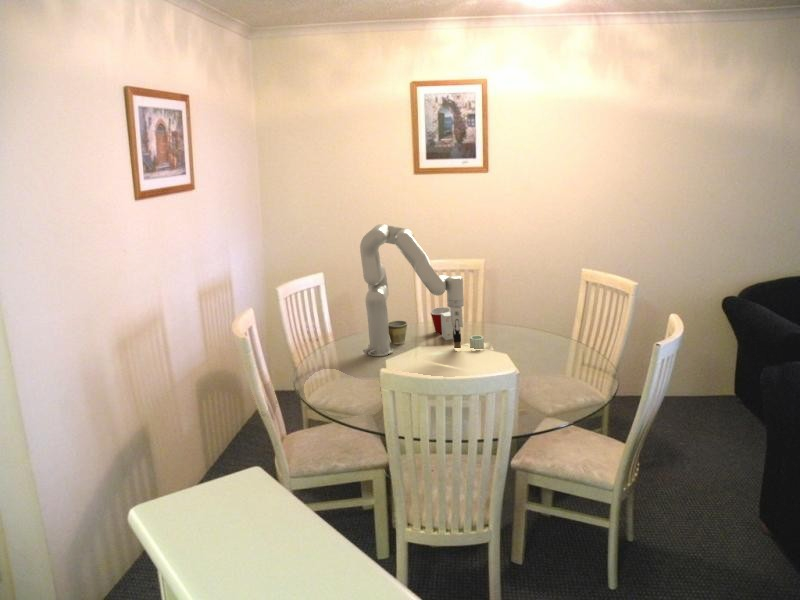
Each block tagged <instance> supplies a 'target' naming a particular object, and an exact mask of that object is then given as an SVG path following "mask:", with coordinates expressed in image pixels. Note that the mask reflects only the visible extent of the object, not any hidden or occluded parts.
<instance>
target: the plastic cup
mask: <svg viewBox="0 0 800 600" xmlns="http://www.w3.org/2000/svg"><path fill="white" fill-rule="evenodd" d="M447 312H450V307H445V306H444V307H443V306H442V307H441V306H440V307H434V308H432V309H430V310H429V313H430V315H431V318H432V319H431V320H432V324H433V327H434V332H435V333H436V332H438V333H442V326H441V313H447ZM438 333H437V334H438Z"/></svg>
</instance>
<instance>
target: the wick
mask: <svg viewBox="0 0 800 600" xmlns="http://www.w3.org/2000/svg"><path fill="white" fill-rule="evenodd" d="M455 327H456V326H455ZM455 330H456V329H455ZM453 331H454V328H453ZM453 344H454V347H453V349H454V348H461V345H460V344H461V342H454V341H453Z"/></svg>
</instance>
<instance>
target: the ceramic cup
mask: <svg viewBox="0 0 800 600" xmlns="http://www.w3.org/2000/svg"><path fill="white" fill-rule="evenodd" d="M388 326H389V340H390V342H391V343H390V344H392V343H393V344H392V345H394V344H400V343H403V342H404V343H405V342H406V334H407V327H408V322H407V321H406V320H392V321H388ZM400 345H401V344H400Z"/></svg>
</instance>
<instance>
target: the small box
mask: <svg viewBox="0 0 800 600" xmlns="http://www.w3.org/2000/svg"><path fill="white" fill-rule="evenodd" d="M441 326H442V334H441V337H442V338H443V339H444V340H445V341H449V340H454V339H453V327H452V322H451V313H450V312H447V313H441ZM461 329H462V327H460V333H462V332H461Z"/></svg>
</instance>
